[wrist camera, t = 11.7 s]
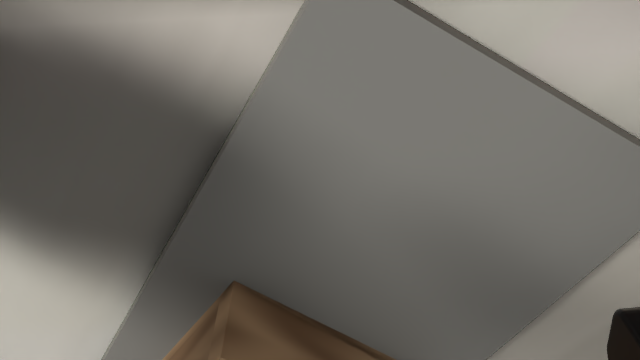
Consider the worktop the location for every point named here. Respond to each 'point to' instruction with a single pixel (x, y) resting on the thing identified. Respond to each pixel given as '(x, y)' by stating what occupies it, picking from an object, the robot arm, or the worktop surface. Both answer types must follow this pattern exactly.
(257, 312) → the wooden tray
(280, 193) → the rubber mat
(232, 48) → the worktop surface
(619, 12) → the worktop surface
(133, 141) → the worktop surface
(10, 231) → the worktop surface
